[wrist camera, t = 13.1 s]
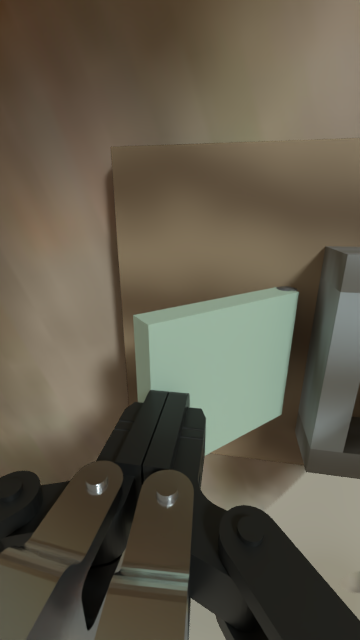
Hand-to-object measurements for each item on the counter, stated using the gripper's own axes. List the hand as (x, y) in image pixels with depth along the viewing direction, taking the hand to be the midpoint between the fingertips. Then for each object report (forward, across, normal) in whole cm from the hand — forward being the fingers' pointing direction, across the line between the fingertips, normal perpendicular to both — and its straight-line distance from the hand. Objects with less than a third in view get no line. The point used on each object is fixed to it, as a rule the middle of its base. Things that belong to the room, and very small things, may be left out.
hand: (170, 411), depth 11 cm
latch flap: (+4, -2, 0) cm, 4 cm away
